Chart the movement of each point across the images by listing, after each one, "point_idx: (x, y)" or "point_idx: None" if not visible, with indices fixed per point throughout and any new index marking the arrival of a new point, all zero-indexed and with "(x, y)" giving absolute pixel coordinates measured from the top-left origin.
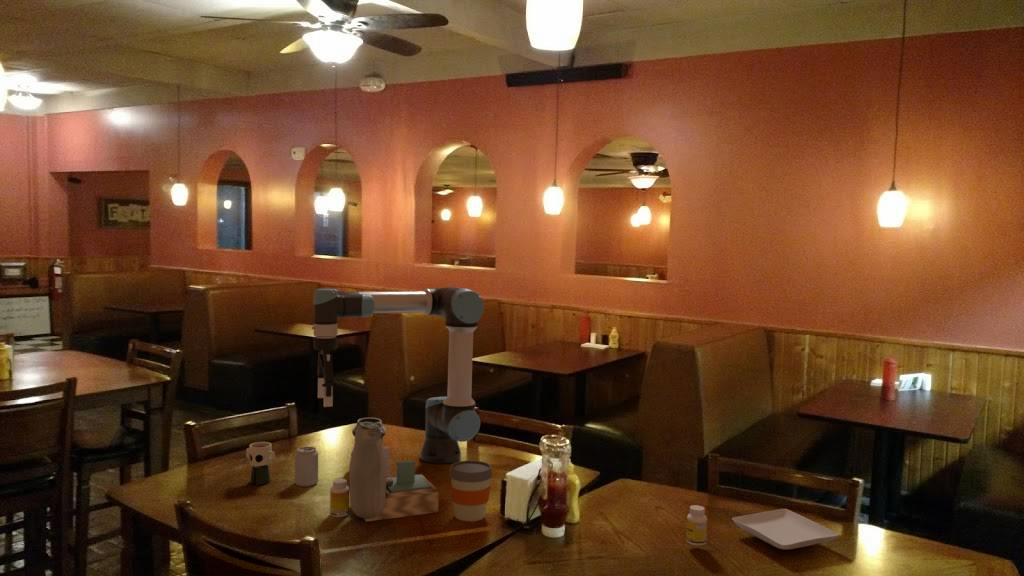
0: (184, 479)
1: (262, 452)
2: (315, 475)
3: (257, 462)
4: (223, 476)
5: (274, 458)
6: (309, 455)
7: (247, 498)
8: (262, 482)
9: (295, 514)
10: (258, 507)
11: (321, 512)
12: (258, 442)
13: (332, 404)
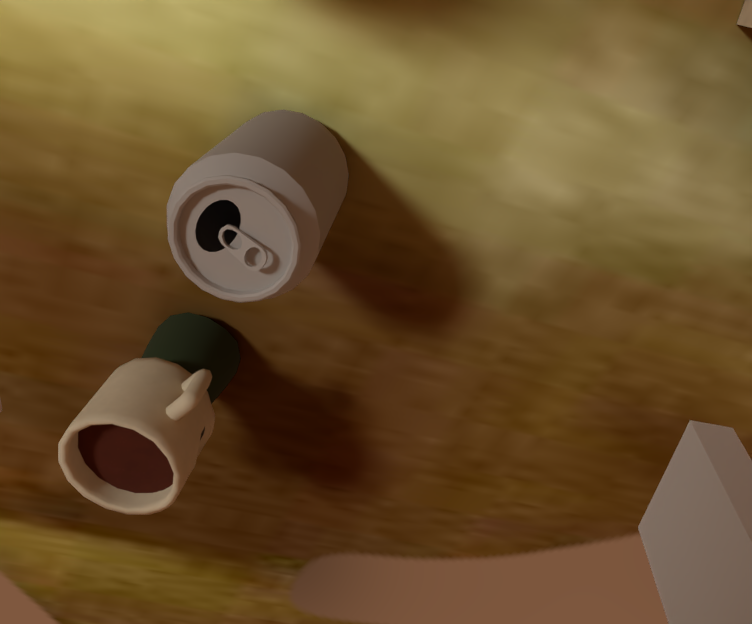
0: (73, 538)
1: (191, 453)
2: (328, 150)
3: (205, 436)
4: None
5: (205, 376)
6: (312, 235)
7: (377, 428)
8: (236, 355)
9: (682, 330)
10: (505, 421)
11: (741, 226)
12: (65, 464)
13: (744, 453)
